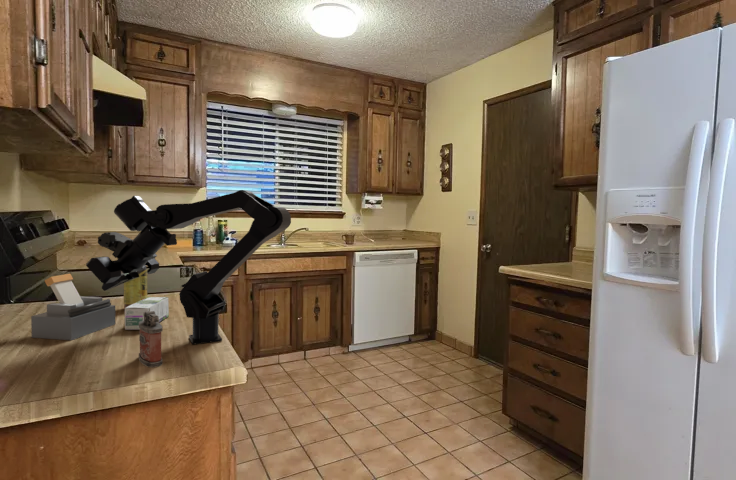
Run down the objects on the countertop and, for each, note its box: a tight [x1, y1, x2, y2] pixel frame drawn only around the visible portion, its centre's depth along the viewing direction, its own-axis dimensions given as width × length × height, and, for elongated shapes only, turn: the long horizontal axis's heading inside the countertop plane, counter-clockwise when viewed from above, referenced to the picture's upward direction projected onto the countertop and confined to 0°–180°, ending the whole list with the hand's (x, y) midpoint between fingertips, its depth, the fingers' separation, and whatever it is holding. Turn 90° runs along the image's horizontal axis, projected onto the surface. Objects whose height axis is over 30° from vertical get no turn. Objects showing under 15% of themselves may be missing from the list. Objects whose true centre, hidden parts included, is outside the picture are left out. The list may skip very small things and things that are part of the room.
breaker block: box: [30, 295, 116, 341], centre depth 100 cm, size 10×14×7 cm
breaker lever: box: [44, 273, 84, 308], centre depth 100 cm, size 2×6×9 cm, turn 174°
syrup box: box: [124, 296, 170, 331], centre depth 109 cm, size 6×6×14 cm
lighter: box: [138, 311, 163, 368], centre depth 82 cm, size 8×3×10 cm, turn 45°
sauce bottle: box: [123, 265, 148, 309], centre depth 124 cm, size 7×6×20 cm
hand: (103, 289), depth 99 cm, fingers closed
